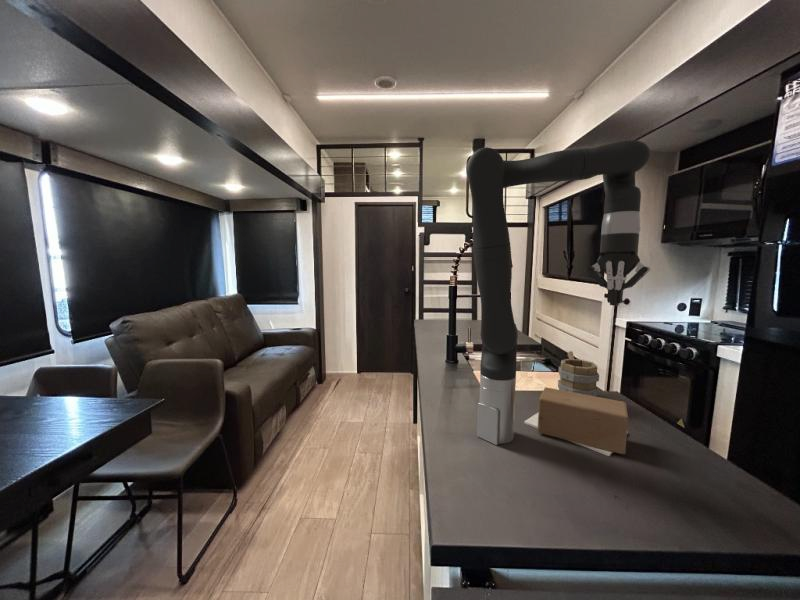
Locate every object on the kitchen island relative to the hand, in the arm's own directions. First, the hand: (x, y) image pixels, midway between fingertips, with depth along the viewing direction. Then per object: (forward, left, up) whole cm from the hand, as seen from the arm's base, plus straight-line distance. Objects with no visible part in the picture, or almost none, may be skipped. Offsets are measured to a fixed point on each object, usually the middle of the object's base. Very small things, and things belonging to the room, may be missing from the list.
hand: (614, 305), depth 78 cm
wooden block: (+4, -4, -31) cm, 32 cm away
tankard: (+27, +17, -37) cm, 49 cm away
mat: (+5, +9, -37) cm, 38 cm away
